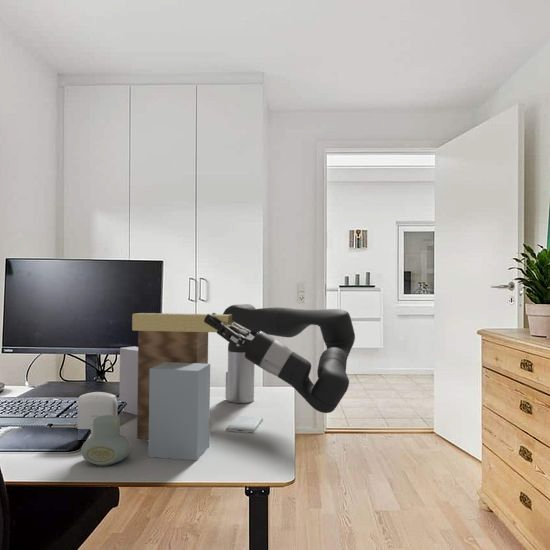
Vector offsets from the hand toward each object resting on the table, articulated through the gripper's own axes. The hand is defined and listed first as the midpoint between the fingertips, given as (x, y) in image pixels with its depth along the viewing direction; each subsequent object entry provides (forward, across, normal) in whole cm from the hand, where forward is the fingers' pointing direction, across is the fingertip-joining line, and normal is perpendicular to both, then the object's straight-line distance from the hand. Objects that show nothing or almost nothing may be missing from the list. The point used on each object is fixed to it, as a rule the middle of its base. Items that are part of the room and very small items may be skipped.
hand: (208, 316), depth 126 cm
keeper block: (-10, +1, -32) cm, 34 cm away
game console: (+5, +30, -42) cm, 51 cm away
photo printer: (+11, +6, -44) cm, 46 cm away
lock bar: (+4, 0, -6) cm, 8 cm away
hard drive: (-20, +26, -28) cm, 43 cm away
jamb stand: (-5, +12, -35) cm, 38 cm away
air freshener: (+2, -9, -40) cm, 41 cm away
